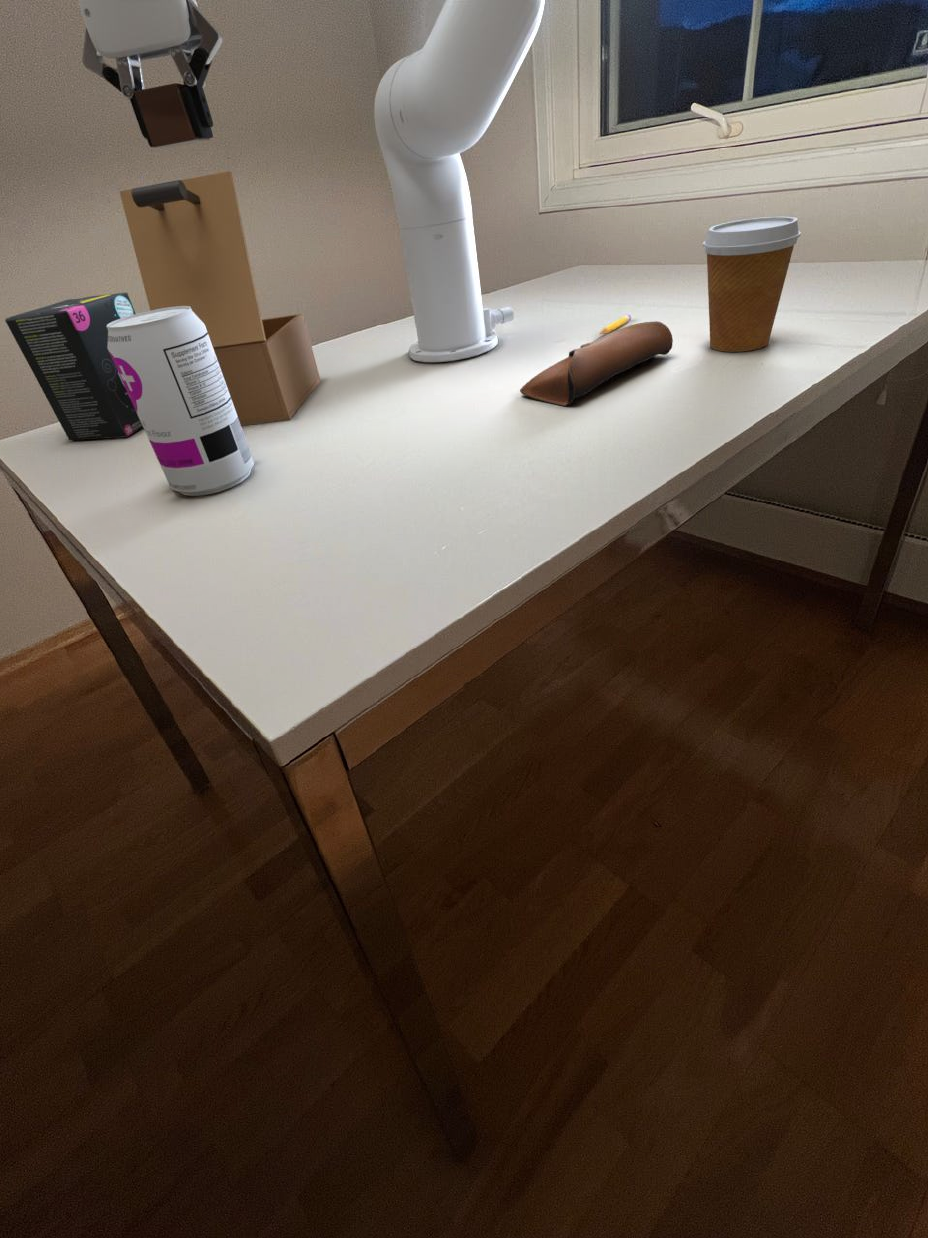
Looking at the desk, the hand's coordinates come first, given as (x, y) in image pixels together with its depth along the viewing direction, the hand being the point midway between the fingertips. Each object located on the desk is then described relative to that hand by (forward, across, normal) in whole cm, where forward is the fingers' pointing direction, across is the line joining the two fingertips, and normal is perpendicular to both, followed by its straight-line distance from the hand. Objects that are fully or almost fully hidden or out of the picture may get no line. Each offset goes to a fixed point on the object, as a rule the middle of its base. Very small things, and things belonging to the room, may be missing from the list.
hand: (181, 139), depth 66 cm
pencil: (+27, -46, -12) cm, 55 cm away
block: (0, 0, 0) cm, 0 cm away
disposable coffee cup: (+27, -59, +2) cm, 65 cm away
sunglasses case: (+28, -42, +8) cm, 51 cm away
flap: (+11, 0, +6) cm, 13 cm away
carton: (+27, 0, +1) cm, 27 cm away
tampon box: (+28, +19, +2) cm, 34 cm away
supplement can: (+28, -3, +25) cm, 37 cm away
